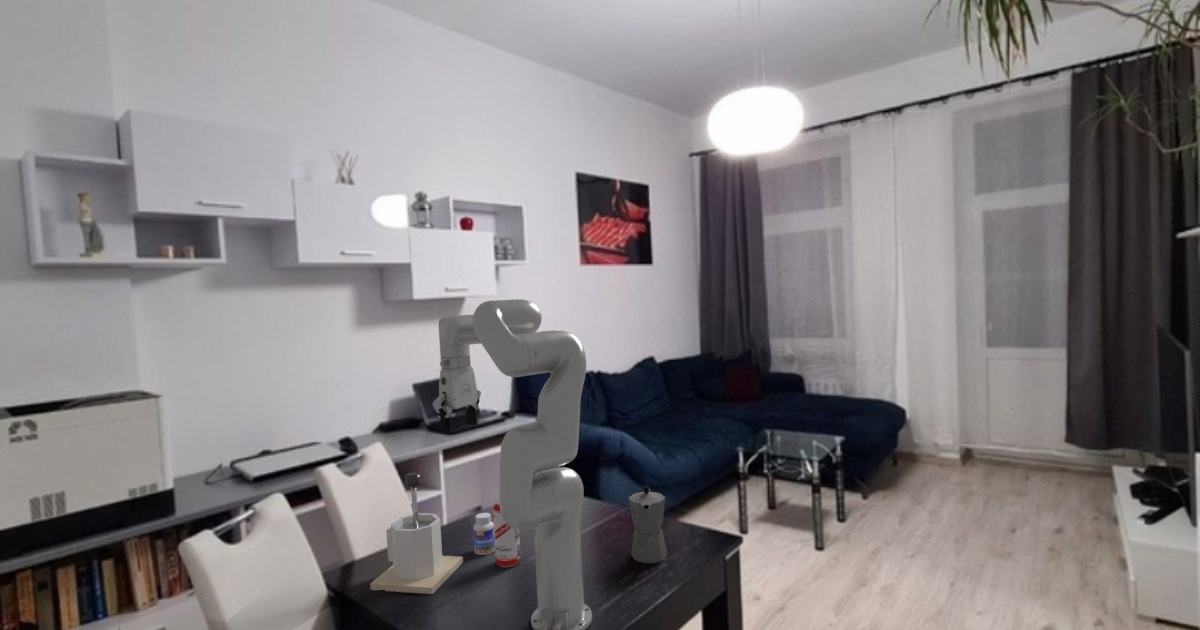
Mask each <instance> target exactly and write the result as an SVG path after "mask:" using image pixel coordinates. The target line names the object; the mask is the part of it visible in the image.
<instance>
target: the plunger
mask: <svg viewBox="0 0 1200 630" xmlns="http://www.w3.org/2000/svg"><path fill="white" fill-rule="evenodd" d="M421 474H422V473H421V472H417V471H416V472H409V473H407V474H405V475H404V476H405V478H404V479H405V480H404V482H405V486H406V487H409V488H410V490H411V508H412V511H411V512H412V515H413V523H411V524H408V525H405V526H403V527H401V528H400V529H417V528H420V527H424V526H428V525H430V524H431V523H430V522H418V513H419V512H418V511H419V510H418V499H417V498H418V494H417V486H420V485H421V484H422V475H421Z"/></svg>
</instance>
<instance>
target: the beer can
mask: <svg viewBox="0 0 1200 630" xmlns="http://www.w3.org/2000/svg"><path fill="white" fill-rule="evenodd" d="M494 503H495V504H494V505H493V508H492V511H493V512H492V514H493V515H492V516H493V524H494V539H495V550H494V555H495V563H496V564H497V565H498V566H499V567H501V568H512V567H514V566H517V565H518V563H519V562H520V561H521V557H522V556H521V541H520V529H513V528H511V527H509V526H508V525H507V524H506V523H505V522H504V520H503V518H502V515H501V511H500V504H499V498H498V499H496V500H495V501H494Z"/></svg>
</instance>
